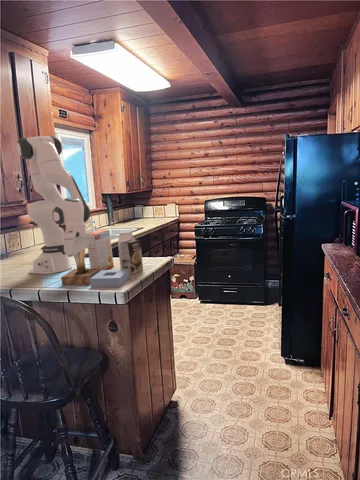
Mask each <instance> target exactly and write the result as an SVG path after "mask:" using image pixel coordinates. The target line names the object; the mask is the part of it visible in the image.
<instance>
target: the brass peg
mask: <svg viewBox="0 0 360 480" xmlns="http://www.w3.org/2000/svg"><path fill="white" fill-rule="evenodd" d="M78 257H79V258H80V261H79V262H75V264H76V265H75V266H76V269H77V273H78V274H82V273H86V269H87V268H86V262H85V258H84V257H85V255H84V253H83V248H82V249H81V251H80V252H78Z"/></svg>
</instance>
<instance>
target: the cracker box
mask: <svg viewBox="0 0 360 480" xmlns="http://www.w3.org/2000/svg"><path fill="white" fill-rule="evenodd" d="M87 234H88V236H89V241H90V247H88V248H87V252H88V253H87V254H88V261H89V267H90V268H101V270H110V268H113V267H114V257H113V251H112V250H113V249H112V242H111V234H110V229H99V230H96V231H93V232H90V233H87Z"/></svg>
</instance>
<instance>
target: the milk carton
mask: <svg viewBox="0 0 360 480" xmlns="http://www.w3.org/2000/svg"><path fill="white" fill-rule="evenodd" d="M118 234H119V236H118V240H117V245H118V246H117V247H118V258H119V266H120V267H119V268H120V270H123V267H122V256H121V245H120V243H121V242H125V241H128V240H136V239H135V237H134V235H133V232H119V233H118Z"/></svg>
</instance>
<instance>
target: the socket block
mask: <svg viewBox="0 0 360 480" xmlns="http://www.w3.org/2000/svg"><path fill="white" fill-rule="evenodd" d="M130 277H131V276H130V274H129V269H126V270H123V269H107V270H101V271H100V272H98V273H97V274H96V275H94V276H93V277H92V278H90V283H91V284H90V288H113V287H117V288H118V287H119V288H120V287H122V286H123V285H124V284H125V283H126V282H127V280H128V279H130Z"/></svg>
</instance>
